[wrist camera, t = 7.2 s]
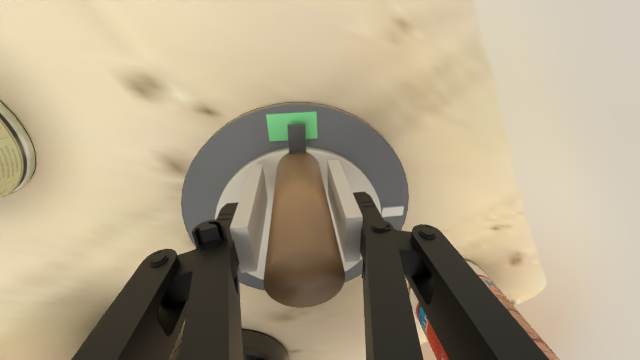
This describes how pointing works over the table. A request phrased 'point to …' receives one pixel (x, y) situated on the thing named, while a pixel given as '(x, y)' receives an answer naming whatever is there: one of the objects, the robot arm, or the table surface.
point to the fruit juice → (432, 337)
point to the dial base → (272, 133)
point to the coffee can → (14, 154)
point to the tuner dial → (299, 221)
